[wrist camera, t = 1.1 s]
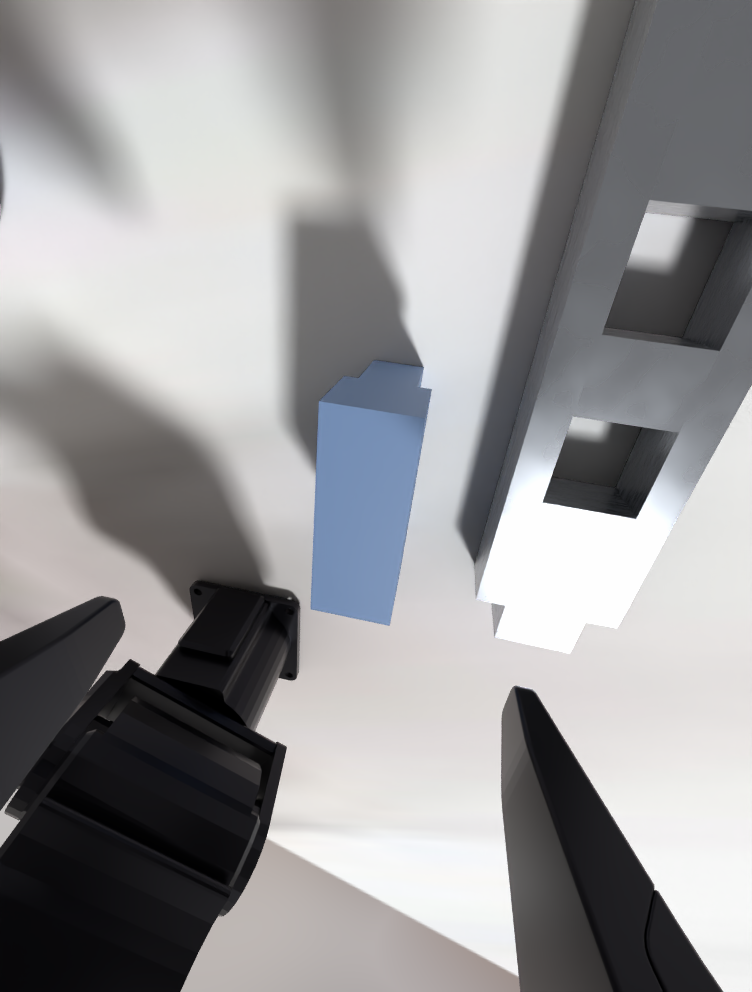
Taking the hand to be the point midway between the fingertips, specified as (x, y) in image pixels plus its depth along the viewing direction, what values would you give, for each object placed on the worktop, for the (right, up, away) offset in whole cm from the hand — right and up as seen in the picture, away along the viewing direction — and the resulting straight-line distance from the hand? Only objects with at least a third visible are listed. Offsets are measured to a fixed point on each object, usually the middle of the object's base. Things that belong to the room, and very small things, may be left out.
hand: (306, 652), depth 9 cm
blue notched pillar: (+2, +5, +9) cm, 11 cm away
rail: (+10, +8, +6) cm, 15 cm away
